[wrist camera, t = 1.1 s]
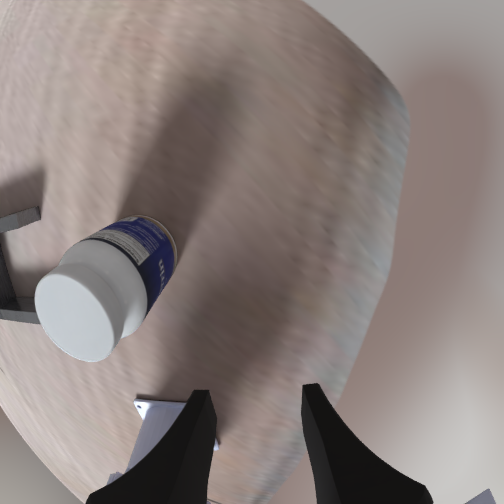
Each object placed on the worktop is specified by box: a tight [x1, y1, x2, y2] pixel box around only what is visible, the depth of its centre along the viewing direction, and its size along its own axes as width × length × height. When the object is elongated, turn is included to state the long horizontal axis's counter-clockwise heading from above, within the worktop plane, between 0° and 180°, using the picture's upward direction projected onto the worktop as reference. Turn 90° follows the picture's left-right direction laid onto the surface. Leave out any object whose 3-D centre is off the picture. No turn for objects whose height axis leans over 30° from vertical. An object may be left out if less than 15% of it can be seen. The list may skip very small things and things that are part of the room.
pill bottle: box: [35, 215, 177, 362], centre depth 15 cm, size 6×6×10 cm
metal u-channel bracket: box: [0, 206, 41, 324], centre depth 18 cm, size 10×9×3 cm
